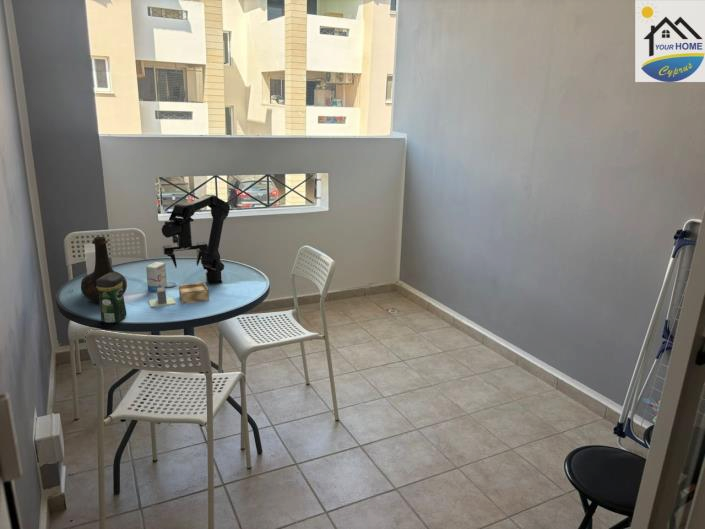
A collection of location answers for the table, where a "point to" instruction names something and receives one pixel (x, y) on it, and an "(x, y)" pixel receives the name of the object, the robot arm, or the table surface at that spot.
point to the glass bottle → (99, 271)
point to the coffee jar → (111, 298)
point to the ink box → (156, 276)
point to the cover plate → (155, 303)
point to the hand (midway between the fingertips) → (186, 266)
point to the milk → (90, 257)
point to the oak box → (193, 293)
